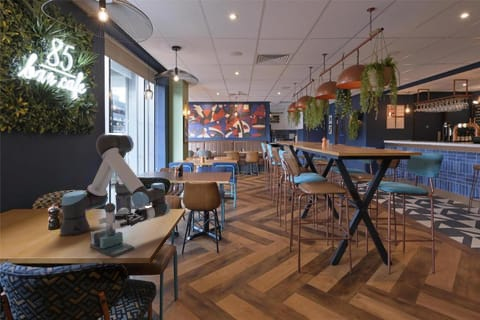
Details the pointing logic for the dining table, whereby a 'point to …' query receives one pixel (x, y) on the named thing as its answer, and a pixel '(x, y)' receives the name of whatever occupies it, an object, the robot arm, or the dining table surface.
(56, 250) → the dining table surface
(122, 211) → the donut
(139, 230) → the dining table surface
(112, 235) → the jaw
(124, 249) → the nutcracker base
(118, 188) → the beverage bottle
